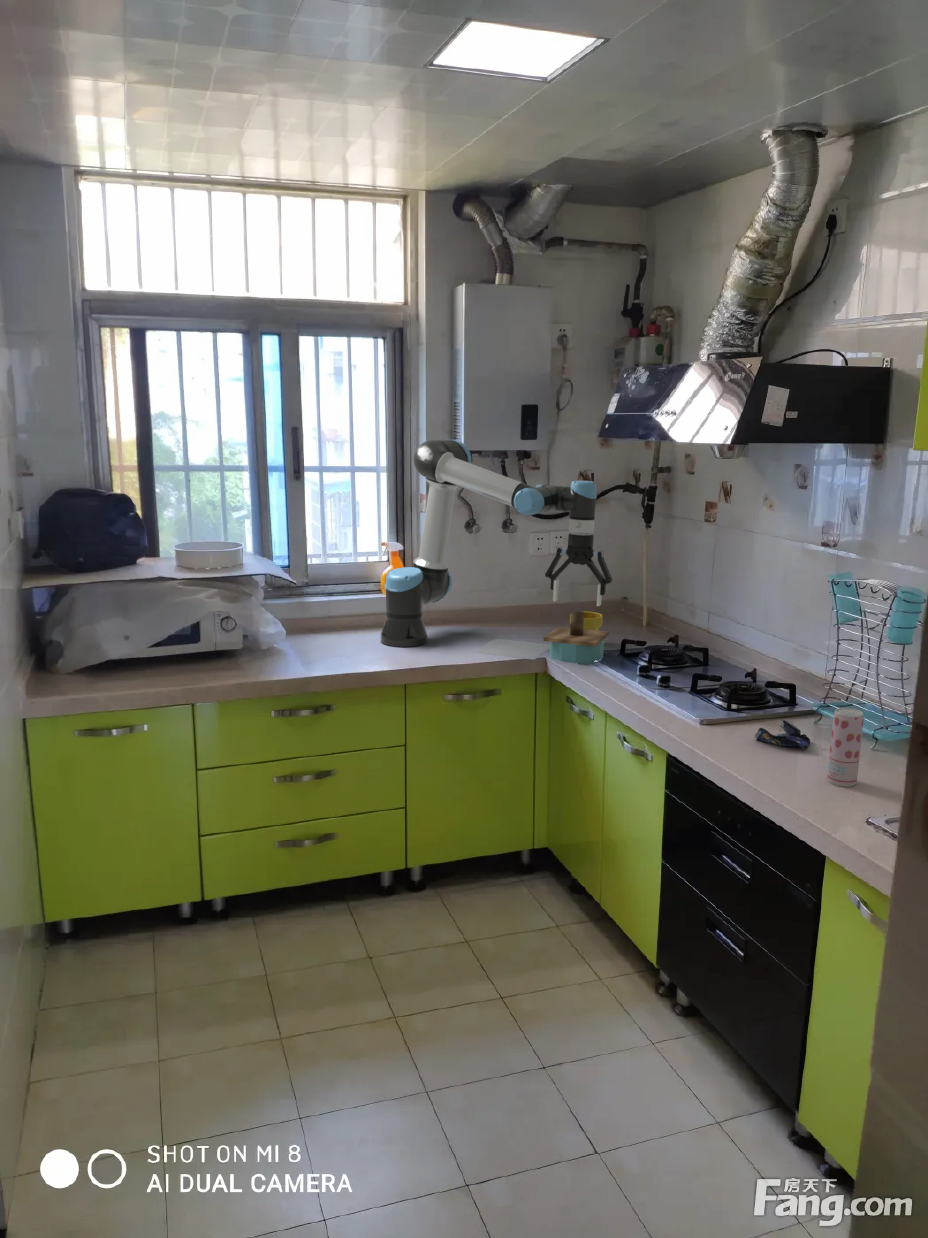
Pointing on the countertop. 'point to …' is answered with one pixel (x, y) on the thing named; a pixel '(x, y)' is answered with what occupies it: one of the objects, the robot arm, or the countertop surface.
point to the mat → (513, 649)
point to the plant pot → (592, 620)
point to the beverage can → (845, 747)
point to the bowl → (576, 652)
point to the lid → (576, 633)
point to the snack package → (784, 736)
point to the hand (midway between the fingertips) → (576, 603)
